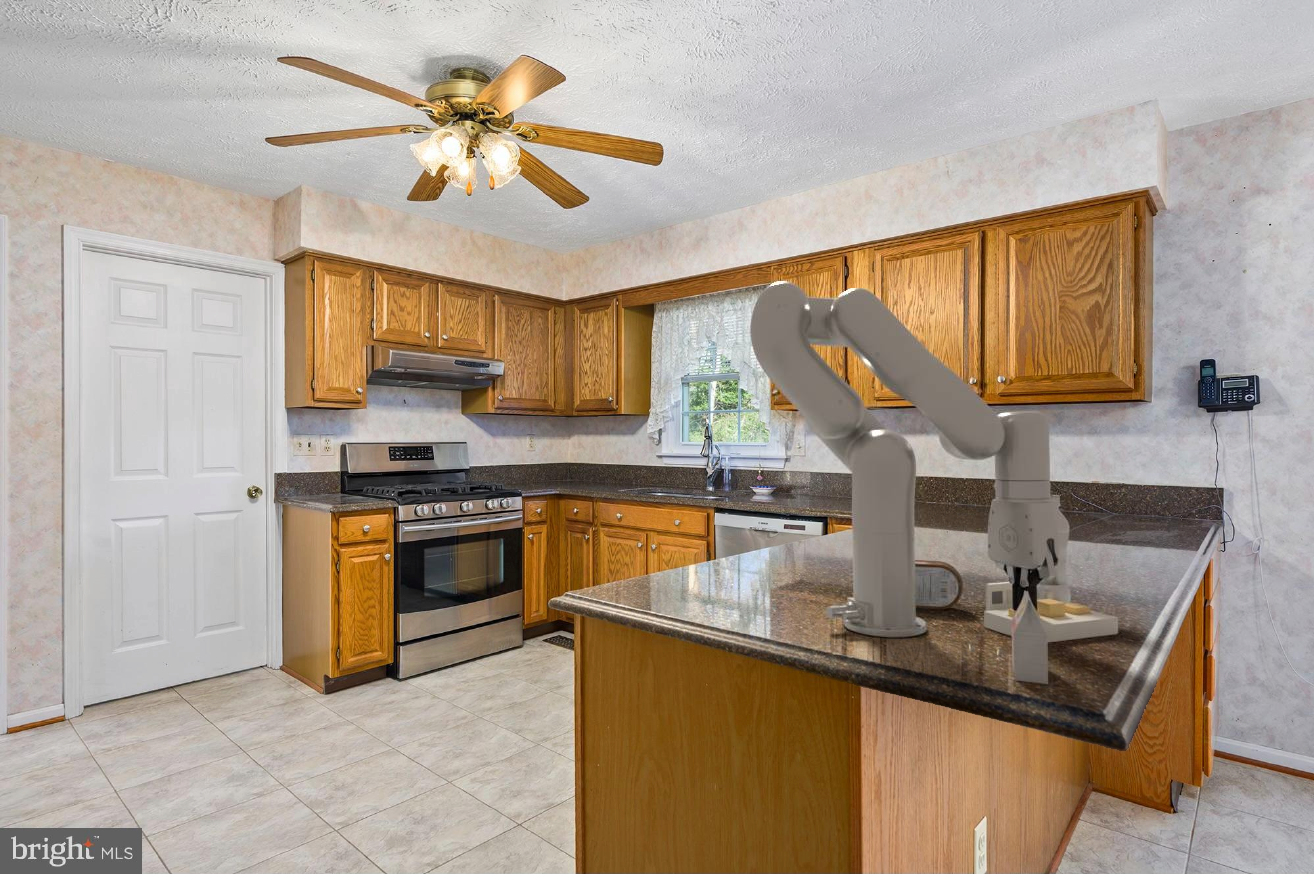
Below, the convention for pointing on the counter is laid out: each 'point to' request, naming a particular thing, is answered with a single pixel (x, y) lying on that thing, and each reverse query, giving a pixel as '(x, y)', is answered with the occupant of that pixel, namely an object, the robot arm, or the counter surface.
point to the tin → (937, 585)
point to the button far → (1076, 609)
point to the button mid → (1051, 608)
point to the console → (1059, 625)
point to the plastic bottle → (1058, 585)
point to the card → (998, 596)
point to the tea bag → (1029, 644)
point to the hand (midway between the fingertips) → (1024, 610)
